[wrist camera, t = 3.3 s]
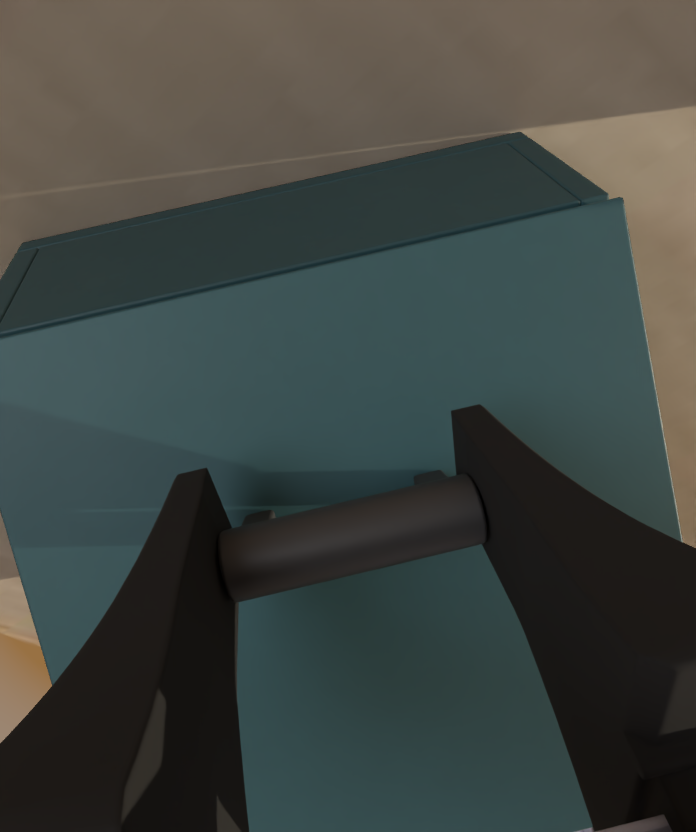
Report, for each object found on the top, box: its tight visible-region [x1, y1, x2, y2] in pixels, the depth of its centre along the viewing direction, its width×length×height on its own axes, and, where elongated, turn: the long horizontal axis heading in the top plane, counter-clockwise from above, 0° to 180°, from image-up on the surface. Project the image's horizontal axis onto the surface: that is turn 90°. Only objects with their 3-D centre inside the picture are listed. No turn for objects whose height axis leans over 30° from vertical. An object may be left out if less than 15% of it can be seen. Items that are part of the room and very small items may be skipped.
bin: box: [0, 132, 609, 338], centre depth 22 cm, size 14×15×6 cm
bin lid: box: [0, 197, 683, 832], centre depth 14 cm, size 15×15×4 cm
